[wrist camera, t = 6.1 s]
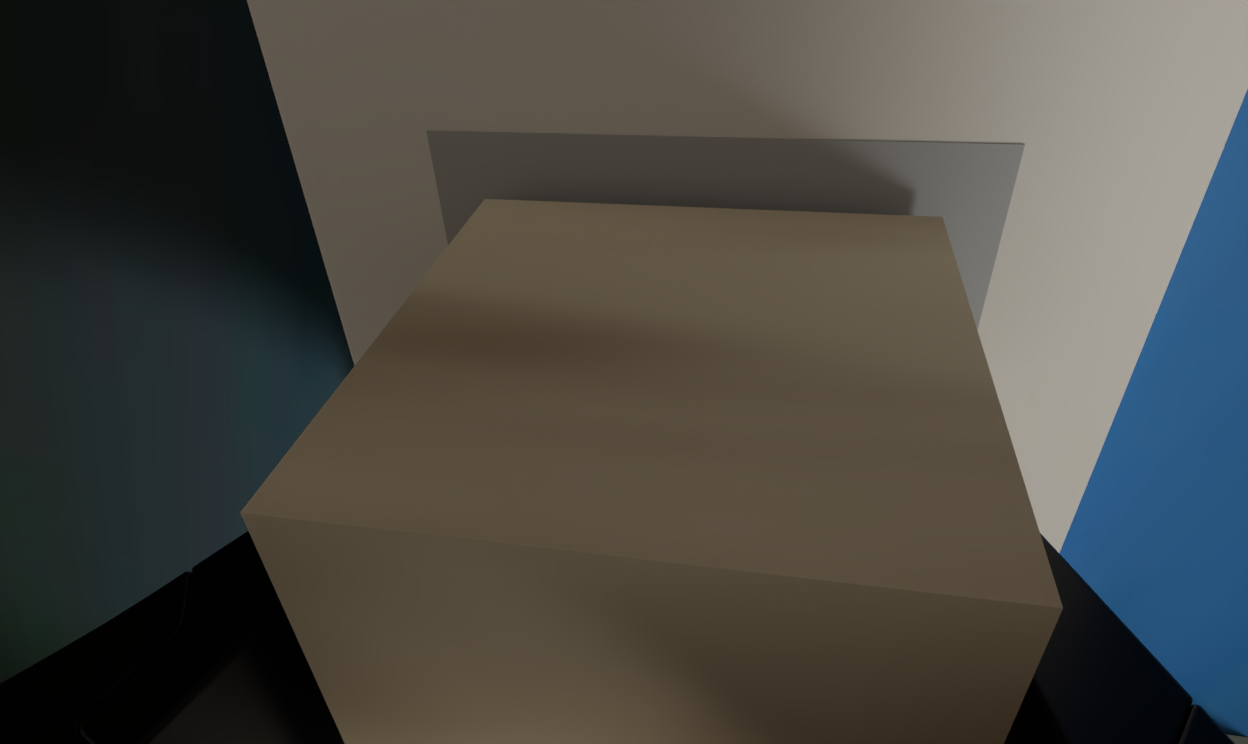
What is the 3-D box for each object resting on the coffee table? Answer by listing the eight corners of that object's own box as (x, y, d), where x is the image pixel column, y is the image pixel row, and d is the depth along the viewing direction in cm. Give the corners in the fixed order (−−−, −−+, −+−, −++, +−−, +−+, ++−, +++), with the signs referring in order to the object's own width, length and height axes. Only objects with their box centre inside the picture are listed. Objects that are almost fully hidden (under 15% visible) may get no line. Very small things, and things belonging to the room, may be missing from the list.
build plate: (1006, 615, 13) (1016, 659, 13) (434, 547, 15) (417, 582, 14) (1266, -76, 7) (1310, -62, 7) (274, -55, 9) (233, -43, 8)
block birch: (874, 544, 11) (909, 958, 7) (531, 508, 12) (397, 861, 8) (942, 217, 8) (1062, 607, 4) (484, 199, 9) (240, 512, 5)
